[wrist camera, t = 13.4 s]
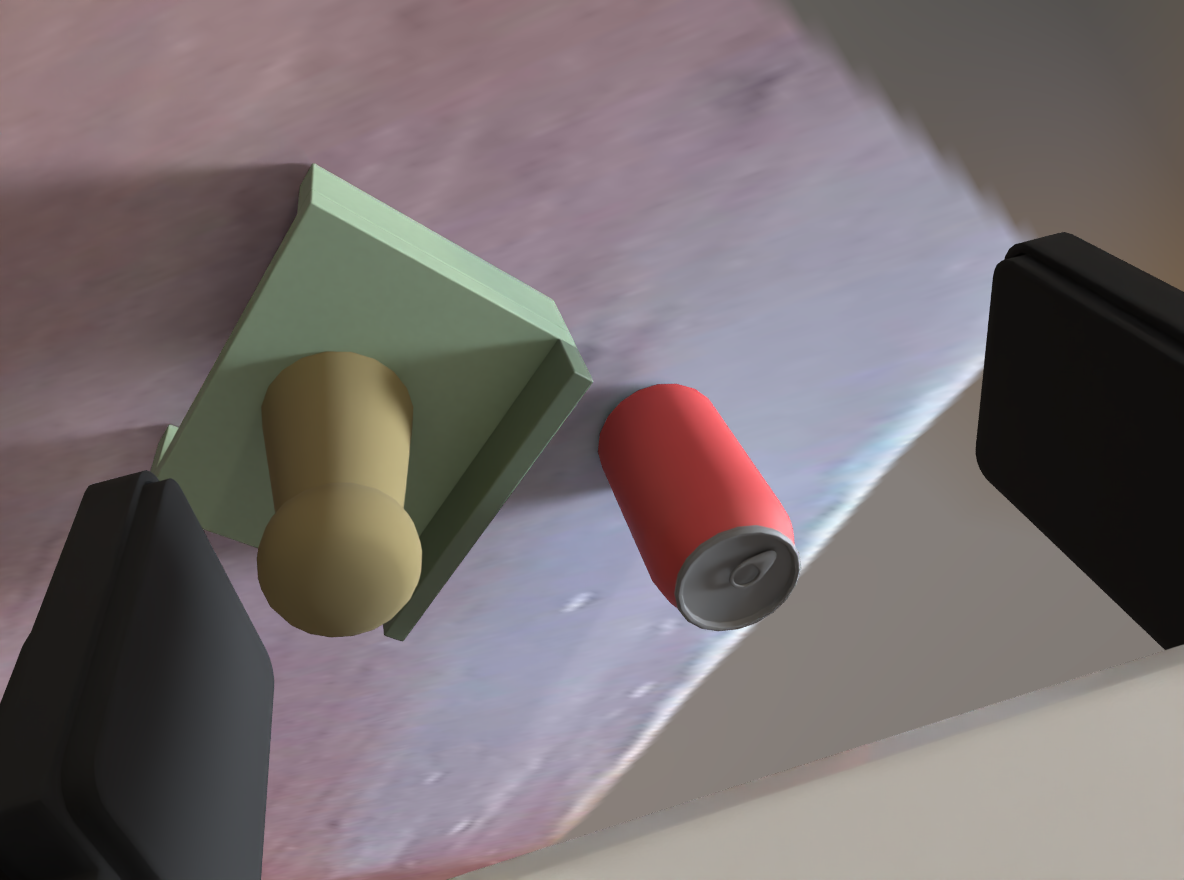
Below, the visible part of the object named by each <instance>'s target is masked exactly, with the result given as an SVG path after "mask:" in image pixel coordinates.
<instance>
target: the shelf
mask: <svg viewBox="0 0 1184 880" xmlns="http://www.w3.org/2000/svg"><path fill="white" fill-rule="evenodd" d="M326 351H335V352H354V353H357V354H360V355H363V356H367V357H370V358H373V359H376V360H377V361H379V362H380V363H382V364H383V365H385V366H386V367H388V368H389V369H391V370H392V371H394V372H395V374H396V375H397V376H398V378H399V379H400V380H401V381H402V383H403V384H404V385H405V386H406V388H407V390H408V393H409V396H410V399H411V402H412V405H413V427H412V436H411V445H410V454H409V464H408V473H407V482H406V491H405V500H404V510H405V511H406V512H407V513H408V515H409V516H410V518H411V519H412V521H413V523H414V525H415V528H416V531H417V533H418V536H419V539H420V542H421V548H422V564H421V574H420V578H419V582H418V584H417V586H416V588H415V590H414V592H413V594H412V597H411V599H410V600H409V601H408V602H407V603H406V604H405V605H404V606H403V608H402V609H401V610H400V611H399V612H398V613H397V614H396V615H395V616H394V617H393V618H392V619H391V620H389V621H388V622H386V623H384V624H383V629H384V635H385V636H387V637H390V638H393V639H396V640H400V641H404V639H405V638H406V637H407V635H408V634H409V633H410V631H411V630H412V629H413V627H414V626H415V624H416V623H417V622H418V620H419V619H420V618H421V616H422V615H423V614H424V612H425V611H426V609H427V608H428V607H429V605H430V604H431V603H432V601H433V600H434V599H435V597H436V596H437V594H438V593H439V592H440V590H441V589H442V588H443V586H444V585H445V584H446V582H447V581H448V579H449V578H450V577H451V575H452V574H453V573H454V571H455V570H456V568H457V567H458V566H459V564H460V563H461V562H462V560H463V559H464V558H465V556H466V555H467V553H468V552H469V551H470V549H471V548H472V547H473V545H474V544H475V543H476V541H477V540H478V538H479V537H480V536H481V534H482V533H483V532H484V530H485V529H486V528H487V526H488V525H489V523H490V522H491V521H492V519H493V518H494V517H495V515H496V514H497V513H498V511H499V510H500V508H501V507H502V506H503V504H504V503H505V502H506V500H507V499H508V497H509V496H510V495H511V493H512V492H513V491H514V489H515V488H516V487H517V485H518V484H519V482H520V481H521V480H522V478H523V477H524V476H525V474H526V473H527V472H528V470H529V469H530V467H531V466H532V465H533V463H534V462H535V461H536V459H537V458H538V457H539V455H540V454H541V452H542V451H543V450H544V448H545V447H546V446H547V444H548V443H549V442H550V440H551V439H552V437H553V436H554V435H555V433H556V432H557V431H558V429H559V428H560V426H561V425H562V424H563V422H564V421H565V420H566V418H567V417H568V416H569V414H570V413H571V411H572V410H573V409H574V407H575V406H576V405H577V403H578V402H579V401H580V399H581V398H582V396H583V395H584V394H585V392H586V391H587V390H588V388H589V387H590V386H591V384H592V383H593V380H592V377H591V375H590V373H589V371H588V369H587V367H586V365H585V363H584V361H583V359H582V357H581V355H580V353H579V351H578V349H577V348H576V345H575V343H574V341H573V339H572V337H571V335H570V333H569V331H568V329H567V327H566V325H565V323H564V321H563V319H562V317H561V315H560V313H559V311H558V309H557V307H556V305H555V303H554V301H553V300H552V299H551V298H549V297H547V296H545V295H544V294H542V293H540V292H538V291H537V290H535V289H533V288H531V287H530V286H528V285H526V284H524V283H523V282H521V281H519V280H517V279H516V278H514V277H512V276H510V275H509V274H507V273H505V272H503V271H501V270H500V269H498V268H496V267H494V266H493V265H491V264H489V263H487V262H486V261H484V260H482V259H480V258H479V257H477V256H475V255H473V254H472V253H470V252H468V251H466V250H465V249H463V248H461V247H459V246H458V245H456V244H454V243H452V242H451V241H449V240H447V239H445V238H444V237H442V236H440V235H438V234H437V233H435V232H433V231H431V230H430V229H428V228H426V227H424V226H423V225H421V224H419V223H417V222H416V221H414V220H412V219H410V218H409V217H407V216H405V215H403V214H402V213H400V212H398V211H396V210H395V209H393V208H391V207H389V206H388V205H386V204H384V203H382V202H381V201H379V200H377V199H375V198H374V197H372V196H370V195H368V194H367V193H365V192H363V191H361V190H360V189H358V188H356V187H354V186H353V185H351V184H349V183H347V182H346V181H344V180H342V179H340V178H339V177H337V176H335V175H333V174H332V173H330V172H328V171H326V170H325V169H323V168H321V167H319V166H318V165H316V164H312V165H311V167H310V169H309V170H308V172H307V174H306V176H305V178H304V180H303V181H302V183H301V185H300V189H299V200H298V211H297V216H296V217H295V219H294V221H293V223H292V225H291V226H290V228H289V230H288V232H287V234H286V235H285V237H284V239H283V241H282V243H281V244H280V246H279V248H278V250H277V252H276V253H275V255H274V257H273V259H272V261H271V262H270V264H269V266H268V268H267V270H266V271H265V273H264V275H263V277H262V279H261V280H260V282H259V284H258V286H257V288H256V289H255V291H254V293H253V295H252V297H251V298H250V300H249V302H248V304H247V306H246V307H245V309H244V311H243V313H242V315H241V316H240V318H239V320H238V322H237V324H236V326H235V327H234V329H233V331H232V333H231V335H230V336H229V338H228V340H227V342H226V344H225V345H224V347H223V349H222V351H221V353H220V354H219V356H218V358H217V360H216V362H215V363H214V365H213V367H212V369H211V371H210V372H209V374H208V376H207V378H206V380H205V381H204V383H203V385H202V387H201V389H200V390H199V392H198V394H197V396H196V398H195V399H194V401H193V403H192V405H191V407H190V408H189V410H188V412H187V414H186V416H185V417H184V419H183V421H182V423H181V425H180V426H179V428H178V427H175V426H173V425H170V424H169V425H168V427H167V429H166V431H165V432H164V434H163V436H162V438H161V440H160V441H159V443H158V447H157V450H156V454H155V457H154V460H153V464H152V467H151V471H150V472H152V473H153V474H154V475H155V476H156V477H157V478H158V480H159V481H161V480H165V479H169V478H171V479H174V480H175V481H176V482H177V483H178V484H179V486H180V487H181V489H182V491H183V493H184V494H185V496H186V498H187V500H188V502H189V504H190V506H191V508H192V510H193V512H194V514H195V515H196V517H197V519H198V521H199V523H200V525H201V527H202V529H204V530H207V531H210V532H213V533H216V534H218V535H221V536H224V537H227V538H230V539H233V540H236V541H239V542H242V543H244V544H247V545H250V546H253V547H256V548H258V547H259V544H260V541H261V539H262V536H263V533H264V531H265V528H266V526H267V524H268V523H269V521H270V519H271V518H272V516H273V515H274V514H275V509H274V502H273V495H272V489H271V482H270V475H269V469H268V462H267V455H266V448H265V442H264V435H263V428H262V411H261V406H262V403H263V400H264V397H265V394H266V392H267V389H268V386H269V385H270V384H271V383H272V382H273V380H274V379H275V378H276V377H277V376H278V374H279V373H280V372H281V371H282V370H283V369H285V368H286V367H288V366H290V365H291V364H293V363H294V362H296V361H298V360H299V359H301V358H303V357H307V356H310V355H314V354H318V353H322V352H326Z"/></svg>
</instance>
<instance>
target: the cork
mask: <svg viewBox="0 0 1184 880" xmlns="http://www.w3.org/2000/svg"><path fill="white" fill-rule="evenodd" d="M261 411H262V428H263V435H264V442H265V448H266V455H267V462H268V469H269V475H270V482H271V489H272V495H273V502H274V509H275V514H274V515H273V516H272V518H271V519H270V521H269V523H268V524H267V526H266V528H265V531H264V533H263V536H262V539H261V541H260V544H259V547H258V554H257V569H258V580H259V583H260V587H261V590H262V592H263V593H264V595H265V597H266V599H267V601H268V603H269V605H270V607H271V608H272V609H274V610H275V611H276V612H277V613H278V614H279V615H280V616H281V617H283V618H284V619H285V620H286V621H287V622H288V623H289V624H290V625H292V626H294V627H296V628H298V629H301V630H303V631H305V632H307V633H309V634H314V635H320V636H326V637H344V636H354V635H358V634H361V633H364V632H368V631H371V630H374V629H376V628H377V627H379V626H381V625H382V624H384V623H386V622H388V621H389V620H391V619H392V618H393V617H394V616H395V615H396V614H397V613H398V612H399V611H400V610H401V609H402V608H403V606H404V605H405V604H406V603H407V602H408V601H409V600H410V599H411V597H412V594H413V592H414V590H415V588H416V586H417V584H418V582H419V578H420V574H421V564H422V548H421V542H420V539H419V536H418V533H417V531H416V528H415V525H414V523H413V521H412V519H411V518H410V516H409V515H408V513H407V512H406V511H405V510H404V500H405V491H406V482H407V473H408V464H409V454H410V445H411V436H412V427H413V405H412V402H411V399H410V396H409V393H408V390H407V388H406V386H405V385H404V384H403V383H402V381H401V380H400V379H399V378H398V376H397V375H396V374H395V372H394V371H392V370H391V369H389V368H388V367H386V366H385V365H383V364H382V363H380V362H379V361H377V360H376V359H373V358H370V357H367V356H363V355H360V354H357V353H354V352H335V351H326V352H322V353H318V354H314V355H310V356H307V357H303V358H301V359H299V360H298V361H296V362H294V363H293V364H291V365H290V366H288V367H286V368H285V369H283V370H282V371H281V372H280V373H279V374H278V376H277V377H276V378H275V379H274V380H273V382H272V383H271V384H270V385H269V386H268V389H267V392H266V394H265V397H264V400H263V403H262V406H261Z"/></svg>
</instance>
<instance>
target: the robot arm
mask: <svg viewBox="0 0 1184 880" xmlns="http://www.w3.org/2000/svg"><path fill="white" fill-rule="evenodd" d="M976 458H977V462H978V465H979V468H980V470H981V472H982V473H983V475H984V476H985V478H986V479H987V480H988V481H989V482H990V483H991V484H992V485H993V486H994V487H995V488H996V489H997V490H998V491H999V492H1001V493H1002V494H1003V495H1004V496H1005V497H1006V498H1007V499H1008V500H1009V501H1010V502H1011V503H1012V504H1013V505H1014V506H1015V507H1016V508H1017V509H1018V510H1019V511H1020V512H1022V513H1023V514H1024V515H1025V516H1026V517H1027V518H1028V519H1029V520H1030V521H1031V522H1032V523H1033V524H1034V525H1035V526H1036V527H1037V528H1038V529H1039V530H1040V531H1041V532H1043V534H1044V535H1045V536H1047V537H1048V538H1049V539H1050V540H1051V541H1052V542H1053V543H1054V544H1055V545H1056V546H1057V547H1058V548H1059V549H1060V550H1061V551H1062V552H1063V553H1064V554H1065V555H1066V556H1067V557H1069V559H1071V560H1072V561H1073V562H1074V563H1075V564H1076V565H1077V566H1078V567H1079V568H1080V569H1081V570H1082V571H1083V572H1084V573H1086V575H1087V576H1088V577H1089V578H1090V579H1092V581H1094V582H1095V583H1096V584H1097V585H1098V586H1099V587H1100V588H1101V589H1102V590H1103V591H1104V592H1105V593H1106V594H1107V595H1108V596H1109V597H1110V598H1111V599H1112V600H1113V601H1114V602H1115V603H1117V604H1118V605H1119V606H1120V607H1121V608H1122V609H1123V610H1124V611H1125V612H1126V613H1127V614H1128V615H1129V616H1130V617H1131V618H1132V619H1133V620H1134V621H1135V622H1136V623H1137V624H1138V625H1140V626H1141V627H1142V628H1143V629H1144V630H1145V631H1146V632H1147V633H1148V634H1149V635H1150V636H1151V637H1152V638H1153V639H1154V640H1155V641H1156V642H1157V643H1158V644H1159V645H1160V646H1161V647H1163V648H1164V649H1165V650H1164V651H1161V652H1158V653H1155V654H1152V655H1148V656H1145V657H1142V658H1139V659H1136V660H1133V661H1129V662H1126V663H1123V664H1120V665H1116V666H1113V667H1110V668H1107V669H1104V670H1100V671H1097V672H1094V673H1091V674H1088V675H1085V676H1081V677H1078V678H1075V679H1072V680H1068V681H1065V682H1062V683H1059V684H1056V685H1053V686H1049V687H1046V688H1043V689H1040V690H1036V691H1034V692H1030V693H1027V694H1024V695H1021V696H1018V697H1014V698H1011V699H1008V700H1005V701H1002V702H999V703H995V704H992V705H989V706H986V707H983V708H980V709H977V710H973V711H970V712H967V713H964V714H961V715H957V716H954V717H951V718H948V719H945V720H942V721H939V722H936V723H932V724H929V725H926V726H923V727H920V728H917V729H913V730H910V731H907V732H904V733H901V734H898V735H894V736H891V737H888V738H885V739H882V740H879V741H876V742H872V743H869V744H866V745H863V746H860V747H857V748H854V749H851V750H847V751H845V752H841V753H838V754H835V755H832V756H829V757H825V758H822V759H819V760H816V761H813V762H810V763H807V764H804V765H800V766H797V767H794V768H791V769H788V770H785V771H782V772H778V773H775V774H772V775H769V776H766V777H763V778H760V779H757V780H753V781H750V782H747V783H744V784H741V785H738V786H735V787H731V788H728V789H725V790H722V791H719V792H716V793H713V794H710V795H707V796H703V797H700V798H698V799H694V800H691V801H688V802H685V803H682V804H679V805H676V806H673V807H670V808H666V809H664V810H660V811H657V812H654V813H651V814H648V815H645V816H642V817H639V818H636V819H632V820H630V821H627V822H623V823H621V824H617V825H614V826H611V827H608V828H605V829H602V830H599V831H595V832H593V833H590V834H586V835H584V836H580V837H577V838H574V839H571V840H568V841H565V842H562V843H558V844H555V845H552V846H549V847H546V848H543V849H540V850H537V851H534V852H531V853H528V854H525V855H521V856H518V857H515V858H512V859H509V860H506V861H503V862H500V863H497V864H494V865H491V866H487V867H484V868H481V869H478V870H475V871H472V872H469V873H466V874H463V875H460V876H457V877H454V878H450V879H447V880H1184V292H1183V291H1181V290H1179V289H1177V288H1175V287H1173V286H1171V285H1169V284H1167V283H1166V282H1164V281H1162V280H1160V279H1158V278H1156V277H1154V276H1152V275H1150V274H1148V273H1146V272H1144V271H1142V270H1140V269H1138V268H1136V267H1134V266H1133V265H1131V264H1128V263H1127V262H1125V261H1123V260H1121V259H1119V258H1117V257H1115V256H1113V255H1111V254H1109V253H1107V252H1105V251H1103V250H1101V249H1100V248H1097V247H1096V246H1094V245H1092V244H1090V243H1088V242H1086V241H1084V240H1082V239H1080V238H1078V237H1076V236H1074V235H1072V234H1069V233H1066V232H1062V233H1057V234H1053V235H1049V236H1045V237H1042V238H1038V239H1034V240H1030V241H1026V242H1022V243H1018V244H1015V245H1014V246H1012V247H1011V248H1010V249H1009V250H1008V252H1007V254H1006V256H1005V259H1004V260H1002V261H1001V262H1000V263H998V264H997V266H996V268H995V270H994V275H993V282H992V292H991V302H990V312H989V322H988V332H987V341H986V351H985V361H984V371H983V381H982V391H981V402H980V411H979V420H978V430H977V440H976ZM273 695H274V676H273V669H272V665H271V661H270V658H269V655H268V653H267V651H266V649H265V647H264V645H263V643H262V641H261V639H260V637H259V635H258V633H257V632H256V630H255V628H254V626H253V624H252V622H251V620H250V618H249V616H248V614H247V612H246V611H245V609H244V607H243V605H242V603H241V601H240V599H239V597H238V595H237V593H236V592H235V590H234V588H233V586H232V584H231V582H230V580H229V578H228V576H227V574H226V573H225V571H224V569H223V567H222V565H221V563H220V561H219V559H218V557H217V555H216V553H215V552H214V550H213V548H212V546H211V544H210V542H209V540H208V538H207V536H206V534H205V533H204V531H203V529H202V527H201V525H200V523H199V521H198V519H197V517H196V515H195V514H194V512H193V510H192V508H191V506H190V504H189V502H188V500H187V498H186V496H185V494H184V493H183V491H182V489H181V487H180V486H179V484H178V483H177V482H176V481H175V480H174V479H171V478H169V479H165V480H161V481H159V480H158V478H157V477H156V476H155V475H154V474H153V473H152V472H150V471H147V470H145V471H141V472H137V473H134V474H130V475H126V476H122V477H118V478H114V479H110V480H107V481H103V482H99V483H95V484H92V485H89V486H88V488H87V489H86V491H85V493H84V496H83V498H82V501H81V503H80V506H79V509H78V511H77V514H76V516H75V519H74V522H73V524H72V527H71V529H70V532H69V535H68V537H67V540H66V542H65V545H64V548H63V550H62V553H61V555H60V558H59V561H58V563H57V566H56V568H55V571H54V574H53V576H52V579H51V581H50V584H49V587H48V589H47V592H46V594H45V597H44V600H43V602H42V605H41V607H40V610H39V613H38V615H37V618H36V620H35V623H34V626H33V628H32V631H31V633H30V634H29V636H28V638H27V639H26V641H25V643H24V645H23V646H22V649H21V651H20V654H19V657H18V659H17V662H16V664H15V667H14V670H13V672H12V675H11V677H10V680H9V682H8V685H7V688H6V690H5V693H4V695H3V698H2V700H1V703H0V880H261V871H262V856H263V842H264V827H265V812H266V798H267V783H268V768H269V754H270V739H271V724H272V709H273Z"/></svg>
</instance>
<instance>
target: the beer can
mask: <svg viewBox="0 0 1184 880" xmlns="http://www.w3.org/2000/svg"><path fill="white" fill-rule="evenodd" d="M598 454H599V457H600V461H601V465H602V468H603V470H604V473H605V475H606V477H607V479H608V482H609V484H610V486H611V488H612V491H613V493H614V495H615V497H616V500H617V502H618V504H619V507H620V509H621V511H622V513H623V516H624V518H625V520H626V522H627V525H628V527H629V529H630V531H631V534H632V536H633V538H634V540H635V543H636V545H637V547H638V550H639V552H640V554H641V556H642V559H643V561H644V563H645V565H646V568H647V570H648V572H649V574H650V577H651V579H652V581H653V582H654V584H655V585H656V586H657V587H658V589H659V590H660V591H661V592H662V594H663V595H664V596H665V597H666V598H667V600H668V601H669V602H670V603H671V604H672V605H674V606H675V607H676V608H678V610H679V611H680V612H681V614H682V615H683V616H684V617H685V619H686V620H687V621H688V622H690V623H692V624H694V625H696V626H697V627H699V628H701V629H707V630H714V631H725V630H735V629H740V628H743V627H746V626H749V625H752V624H754V623H757V622H758V621H760V620H762V619H763V618H765V617H767V616H768V615H770V614H772V613H773V612H774V611H775V610H776V609H777V608H778V607H779V606H780V605H782V603H784V602H785V601H786V599H787V598H788V597H789V595H790V594H791V592H792V590H793V589H794V587H795V586H796V584H797V581H798V577H799V574H800V570H801V563H800V554H799V552H798V550H797V548H796V547H795V544H794V536H793V528H792V525H791V521H790V518H789V516H788V514H787V513H786V511H785V509H784V508H783V506H782V505H781V503H780V501H779V500H778V499H777V497H776V496H775V494H774V493H773V491H772V490H771V488H770V487H769V485H768V484H767V483H766V481H765V480H764V478H763V477H762V475H761V474H760V472H759V471H758V470H757V468H756V467H755V465H754V464H753V462H752V461H751V459H750V458H749V457H748V455H747V454H746V452H745V451H744V449H743V448H742V446H741V445H740V444H739V442H738V441H737V439H736V438H735V436H734V435H733V433H732V432H731V431H730V429H729V428H728V426H727V425H726V423H725V422H724V420H723V419H722V417H721V416H720V415H719V413H718V412H717V410H716V409H715V407H714V406H713V404H712V403H711V402H710V400H709V399H708V398H707V397H705V396H704V395H703V394H701V393H700V392H698V391H697V390H696V389H693V388H689V387H686V386H682V385H679V384H657V385H654V386H651V387H647V388H644V389H641V390H638V391H637V392H635V393H633V394H632V395H630V396H629V397H627V398H626V399H624V400H623V401H621V402H620V403H619V404H618V406H617V407H616V408H615V409H614V410H613V411H612V412H611V413H610V414H609V416H608V417H607V420H606V422H605V424H604V426H603V428H602V430H601V432H600V437H599V446H598Z"/></svg>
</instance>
